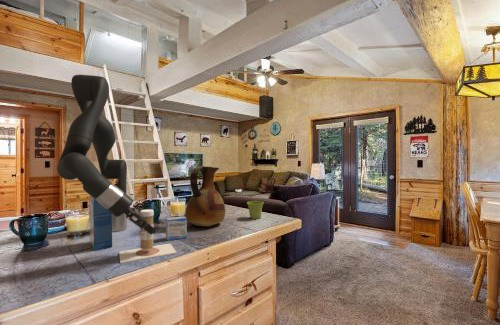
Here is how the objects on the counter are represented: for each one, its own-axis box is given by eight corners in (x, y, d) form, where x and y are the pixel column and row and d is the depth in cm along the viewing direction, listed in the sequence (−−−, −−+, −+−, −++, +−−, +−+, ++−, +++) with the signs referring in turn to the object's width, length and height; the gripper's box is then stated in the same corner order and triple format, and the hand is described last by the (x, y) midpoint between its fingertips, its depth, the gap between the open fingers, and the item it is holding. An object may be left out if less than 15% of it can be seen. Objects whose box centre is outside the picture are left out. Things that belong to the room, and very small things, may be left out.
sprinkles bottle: (137, 247, 94) (137, 210, 93) (149, 244, 97) (149, 208, 97) (144, 250, 91) (144, 212, 90) (156, 247, 94) (156, 210, 94)
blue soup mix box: (93, 251, 96) (92, 183, 96) (89, 242, 106) (88, 180, 105) (112, 247, 100) (111, 182, 100) (107, 239, 110) (106, 180, 109)
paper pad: (119, 252, 95) (119, 251, 95) (170, 244, 103) (170, 243, 103) (120, 263, 85) (120, 261, 85) (176, 253, 93) (176, 251, 93)
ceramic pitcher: (232, 222, 136) (232, 165, 135) (206, 232, 119) (206, 166, 118) (204, 218, 147) (204, 164, 146) (176, 226, 130) (176, 166, 129)
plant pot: (245, 219, 143) (245, 203, 143) (248, 215, 152) (248, 200, 152) (262, 220, 141) (262, 204, 141) (264, 216, 151) (264, 201, 150)
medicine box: (167, 241, 107) (167, 220, 107) (165, 238, 111) (165, 217, 111) (187, 238, 111) (186, 217, 111) (184, 235, 115) (184, 215, 115)
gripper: (124, 194, 84) (164, 227, 90) (122, 189, 96) (157, 218, 102) (105, 212, 81) (147, 244, 87) (106, 205, 94) (142, 233, 100)
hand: (152, 230), depth 95 cm, fingers closed on sprinkles bottle, 4 cm apart
